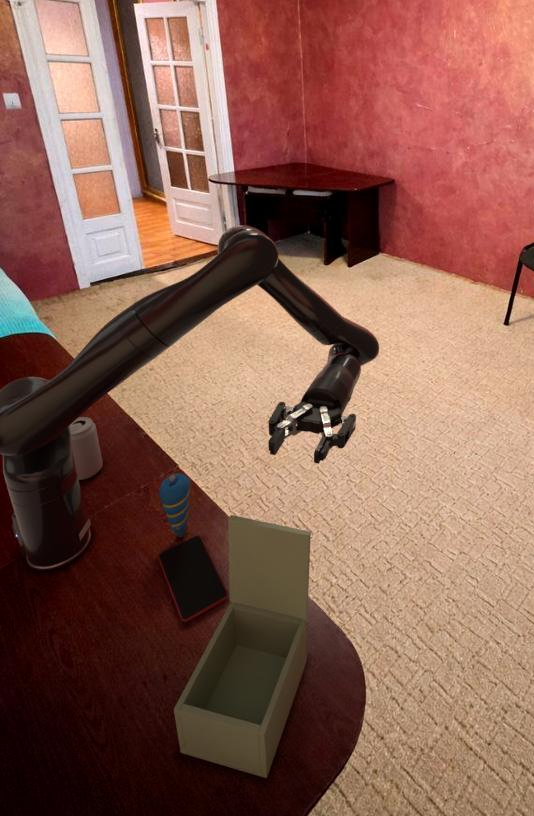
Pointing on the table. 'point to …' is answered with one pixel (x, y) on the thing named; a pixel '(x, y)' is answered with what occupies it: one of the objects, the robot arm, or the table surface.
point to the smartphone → (192, 578)
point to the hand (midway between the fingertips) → (294, 454)
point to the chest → (243, 689)
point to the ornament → (176, 501)
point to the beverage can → (85, 447)
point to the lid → (269, 566)
